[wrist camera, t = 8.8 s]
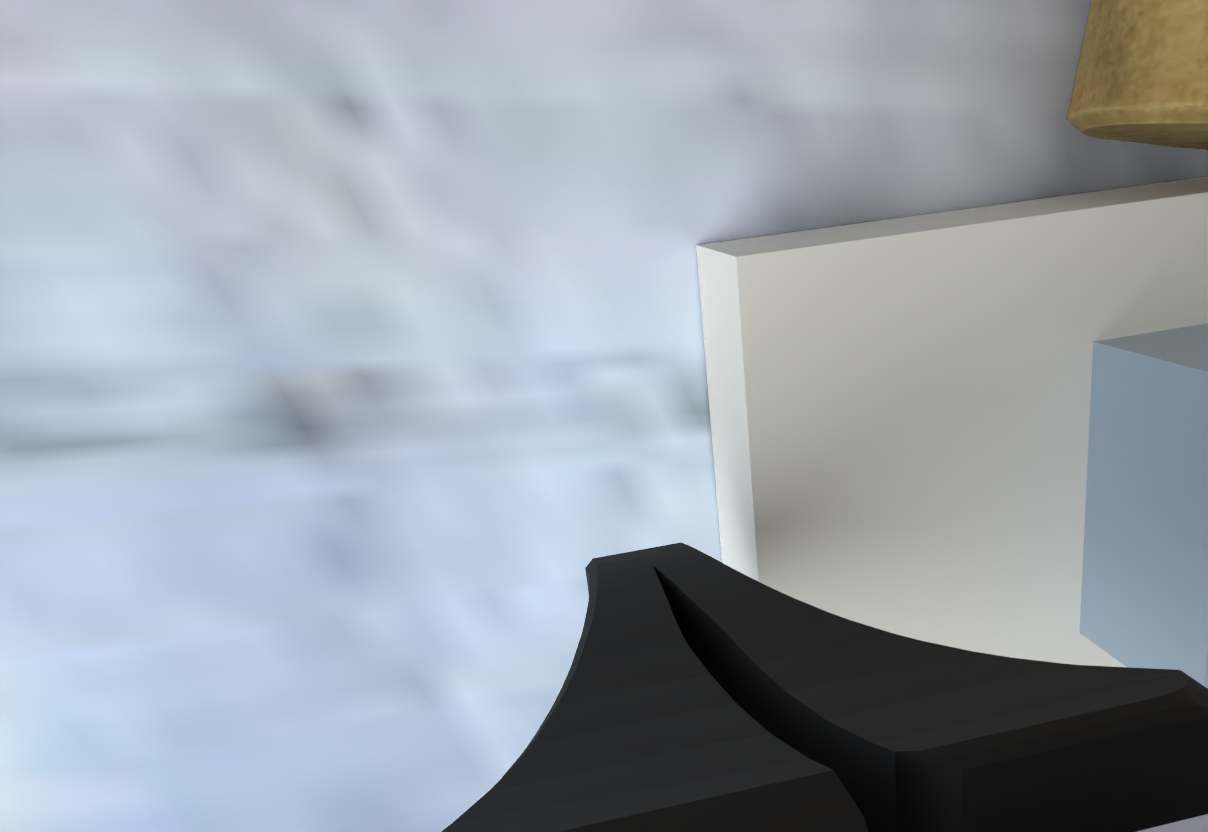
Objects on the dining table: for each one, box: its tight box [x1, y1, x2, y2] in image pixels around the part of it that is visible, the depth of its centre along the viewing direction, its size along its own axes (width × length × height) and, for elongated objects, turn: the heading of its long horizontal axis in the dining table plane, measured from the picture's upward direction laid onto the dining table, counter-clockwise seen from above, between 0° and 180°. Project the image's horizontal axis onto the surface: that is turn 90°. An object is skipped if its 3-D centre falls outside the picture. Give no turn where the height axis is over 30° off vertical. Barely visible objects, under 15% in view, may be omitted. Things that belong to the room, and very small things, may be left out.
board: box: [696, 176, 1208, 667], centre depth 16 cm, size 16×14×2 cm
